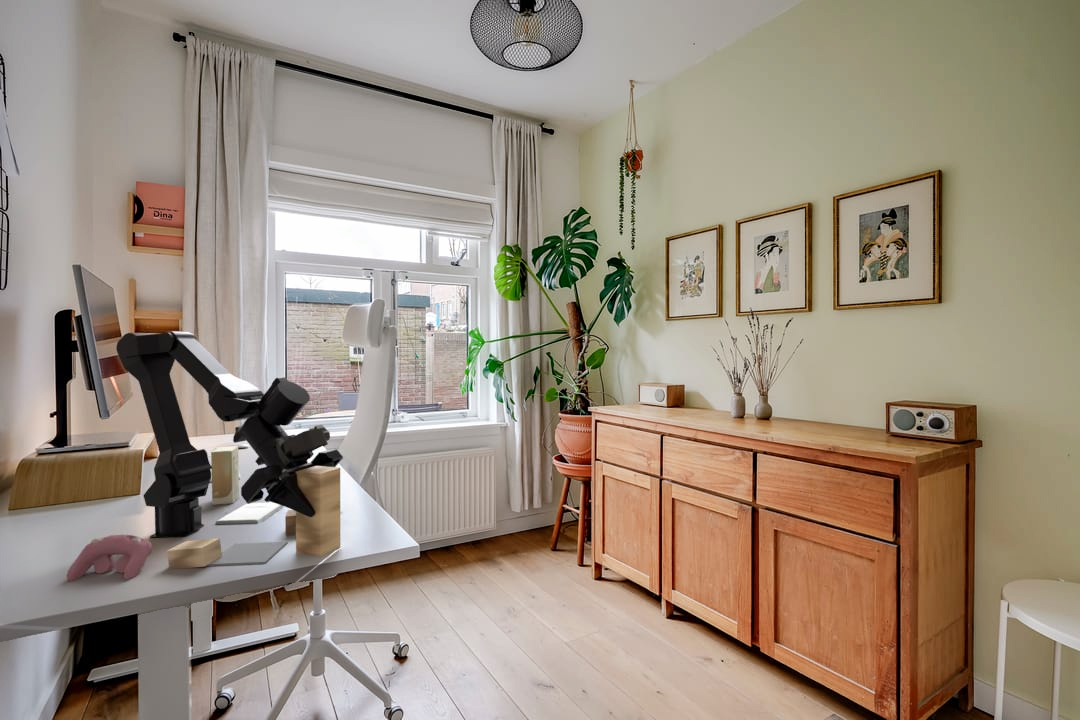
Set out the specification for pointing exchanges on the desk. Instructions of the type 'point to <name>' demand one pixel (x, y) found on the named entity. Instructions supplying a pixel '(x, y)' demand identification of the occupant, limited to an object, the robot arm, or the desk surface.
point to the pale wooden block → (194, 553)
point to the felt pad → (249, 553)
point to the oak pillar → (319, 511)
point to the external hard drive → (250, 513)
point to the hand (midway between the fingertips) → (324, 510)
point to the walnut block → (290, 522)
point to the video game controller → (102, 554)
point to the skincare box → (225, 475)
